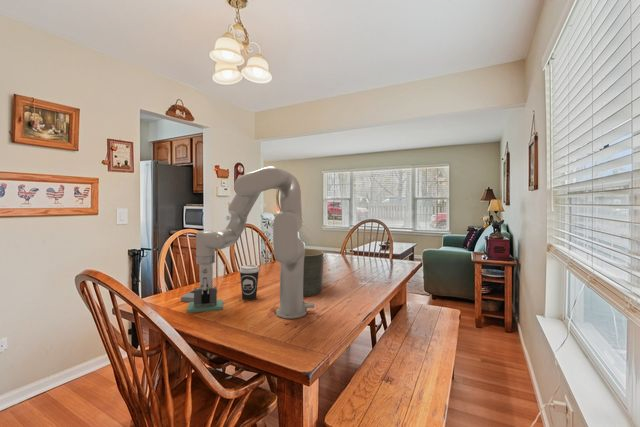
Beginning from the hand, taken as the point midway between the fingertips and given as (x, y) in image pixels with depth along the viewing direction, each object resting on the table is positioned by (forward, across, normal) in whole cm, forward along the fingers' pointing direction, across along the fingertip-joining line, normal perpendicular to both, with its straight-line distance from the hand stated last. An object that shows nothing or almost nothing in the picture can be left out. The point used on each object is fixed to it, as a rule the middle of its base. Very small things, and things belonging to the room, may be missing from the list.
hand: (205, 301), depth 130 cm
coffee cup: (+3, +8, -19) cm, 21 cm away
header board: (+3, 0, 0) cm, 3 cm away
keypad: (+3, +15, +3) cm, 16 cm away
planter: (+3, +13, -46) cm, 48 cm away
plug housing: (0, 0, 0) cm, 0 cm away
